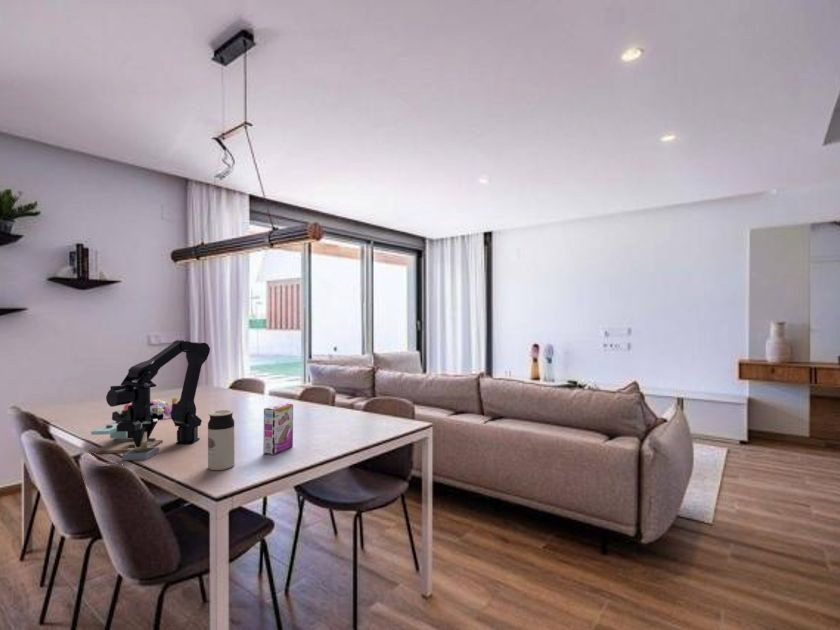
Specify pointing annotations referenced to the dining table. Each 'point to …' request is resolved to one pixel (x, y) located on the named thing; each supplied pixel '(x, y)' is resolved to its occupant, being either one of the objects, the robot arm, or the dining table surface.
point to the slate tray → (140, 454)
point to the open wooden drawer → (124, 445)
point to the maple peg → (142, 443)
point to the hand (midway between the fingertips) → (141, 445)
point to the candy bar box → (278, 428)
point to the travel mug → (221, 440)
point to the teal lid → (110, 431)
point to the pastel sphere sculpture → (159, 407)
